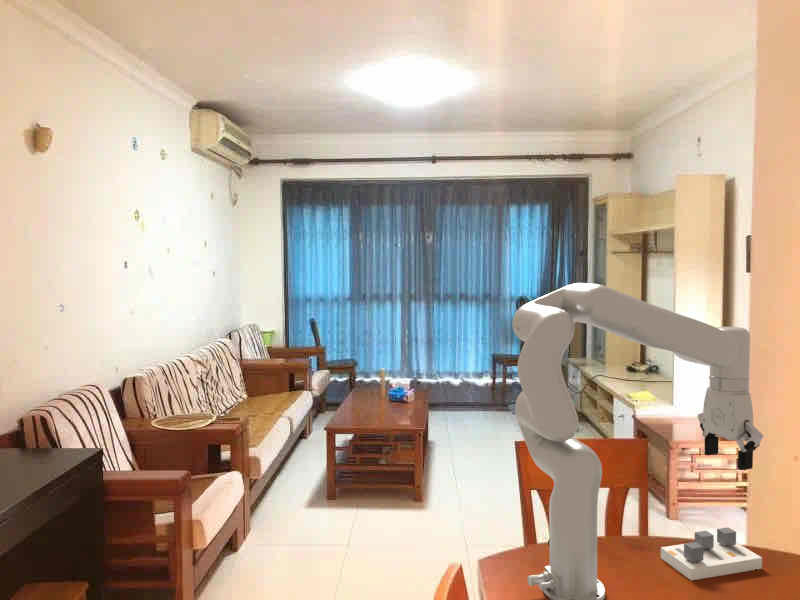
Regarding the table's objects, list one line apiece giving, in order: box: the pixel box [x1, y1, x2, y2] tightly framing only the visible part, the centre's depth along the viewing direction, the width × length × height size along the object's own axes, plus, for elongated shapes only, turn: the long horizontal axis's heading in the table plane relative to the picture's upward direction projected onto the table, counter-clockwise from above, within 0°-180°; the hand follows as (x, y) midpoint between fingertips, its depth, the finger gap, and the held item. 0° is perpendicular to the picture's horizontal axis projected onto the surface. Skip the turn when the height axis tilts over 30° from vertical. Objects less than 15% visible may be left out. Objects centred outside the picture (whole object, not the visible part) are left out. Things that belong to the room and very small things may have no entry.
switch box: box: [660, 538, 763, 581], centre depth 136 cm, size 18×10×3 cm, turn 103°
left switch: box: [683, 541, 704, 562], centre depth 132 cm, size 3×2×3 cm
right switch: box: [716, 527, 737, 546], centre depth 139 cm, size 3×2×3 cm
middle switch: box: [694, 530, 715, 550], centre depth 137 cm, size 3×2×3 cm
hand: (727, 461), depth 132 cm, fingers open, 9 cm apart
